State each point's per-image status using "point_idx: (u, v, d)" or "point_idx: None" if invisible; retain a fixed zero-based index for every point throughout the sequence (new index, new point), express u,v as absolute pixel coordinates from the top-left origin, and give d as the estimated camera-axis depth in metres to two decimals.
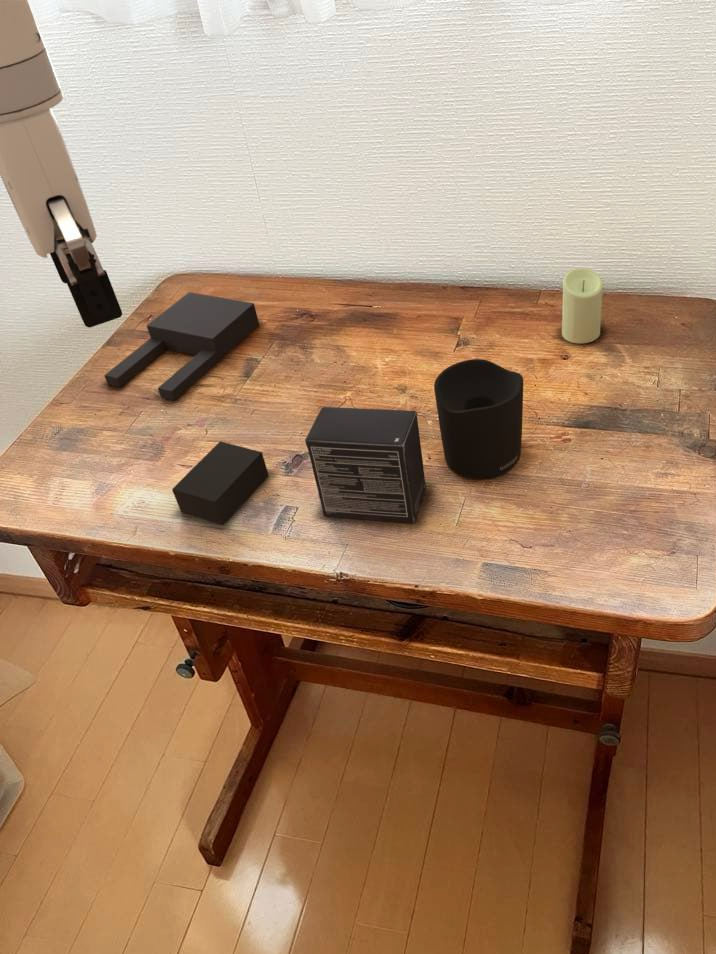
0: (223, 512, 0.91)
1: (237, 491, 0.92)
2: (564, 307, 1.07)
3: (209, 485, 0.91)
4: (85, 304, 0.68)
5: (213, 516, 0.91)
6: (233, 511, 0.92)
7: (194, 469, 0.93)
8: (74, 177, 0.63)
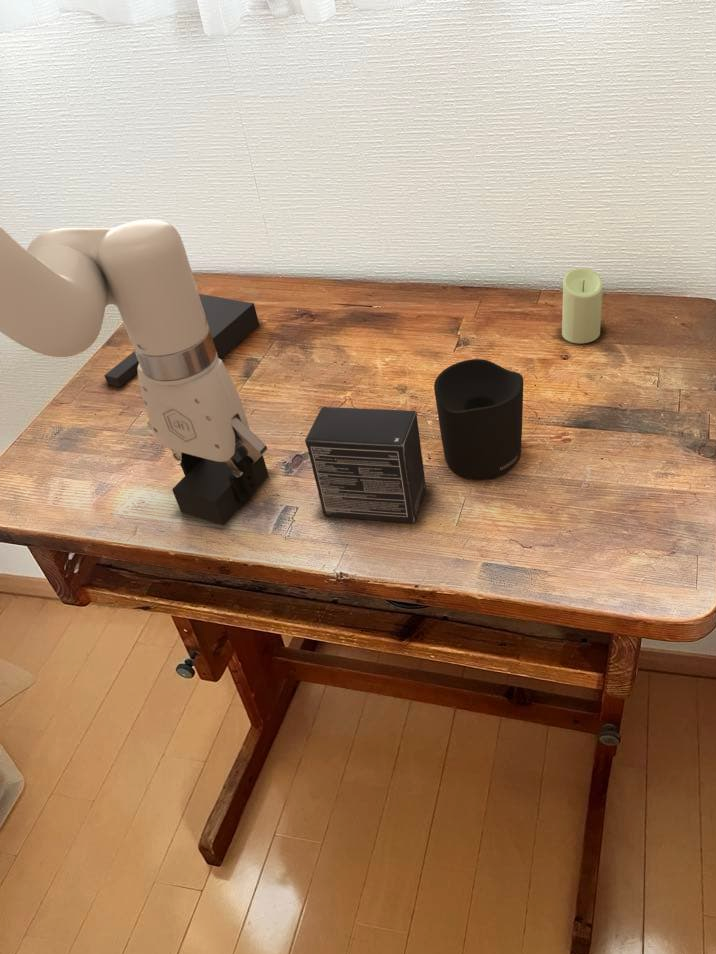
0: (223, 512, 0.91)
1: None
2: (564, 307, 1.07)
3: (209, 485, 0.91)
4: (241, 488, 0.91)
5: (213, 516, 0.91)
6: (233, 511, 0.92)
7: (194, 469, 0.93)
8: (239, 398, 0.85)
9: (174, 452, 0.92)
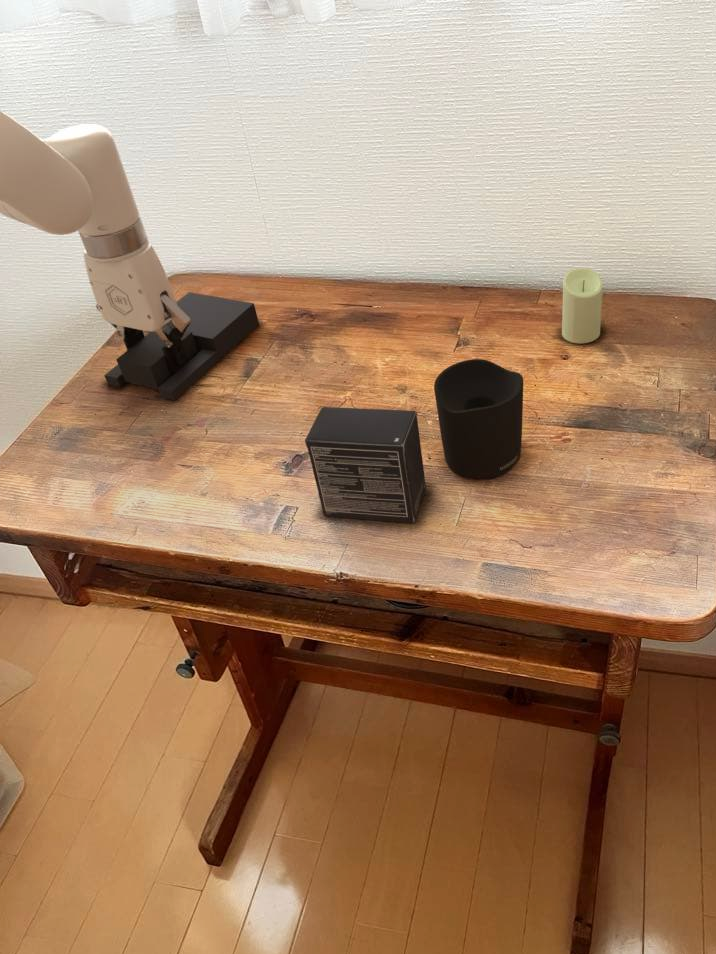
0: (158, 377, 1.10)
1: None
2: (564, 307, 1.07)
3: (146, 355, 1.11)
4: (172, 358, 1.11)
5: (150, 381, 1.11)
6: (167, 378, 1.12)
7: (135, 345, 1.13)
8: (167, 278, 1.05)
9: (118, 330, 1.12)
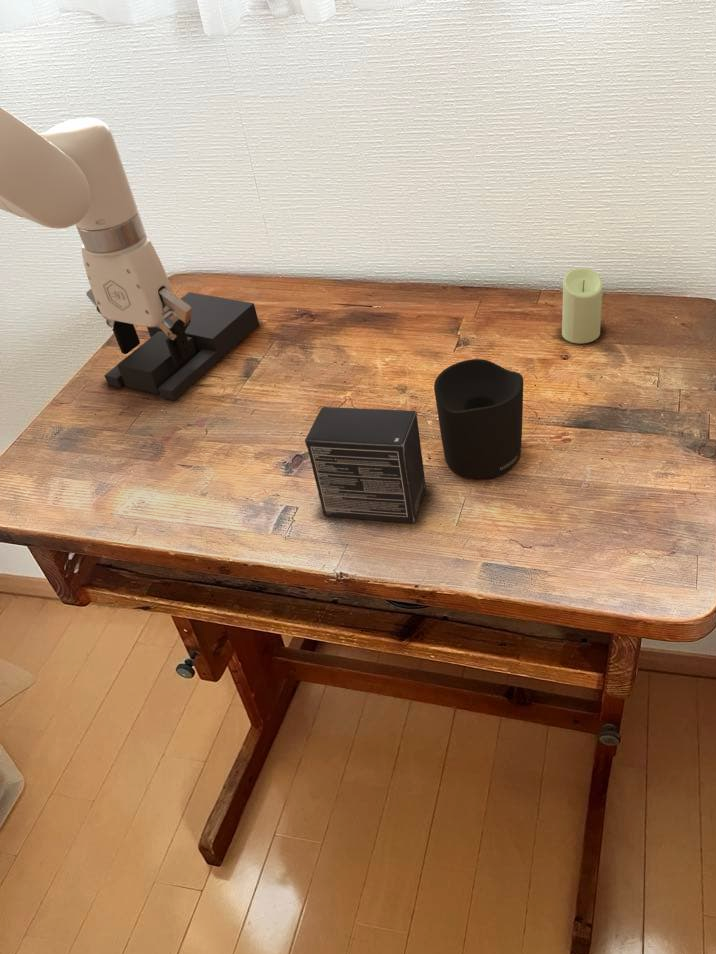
0: (158, 382, 1.11)
1: (171, 367, 1.12)
2: (564, 307, 1.07)
3: (147, 361, 1.11)
4: (176, 351, 1.09)
5: (150, 386, 1.11)
6: None
7: (136, 350, 1.13)
8: (165, 273, 1.05)
9: (108, 319, 1.11)
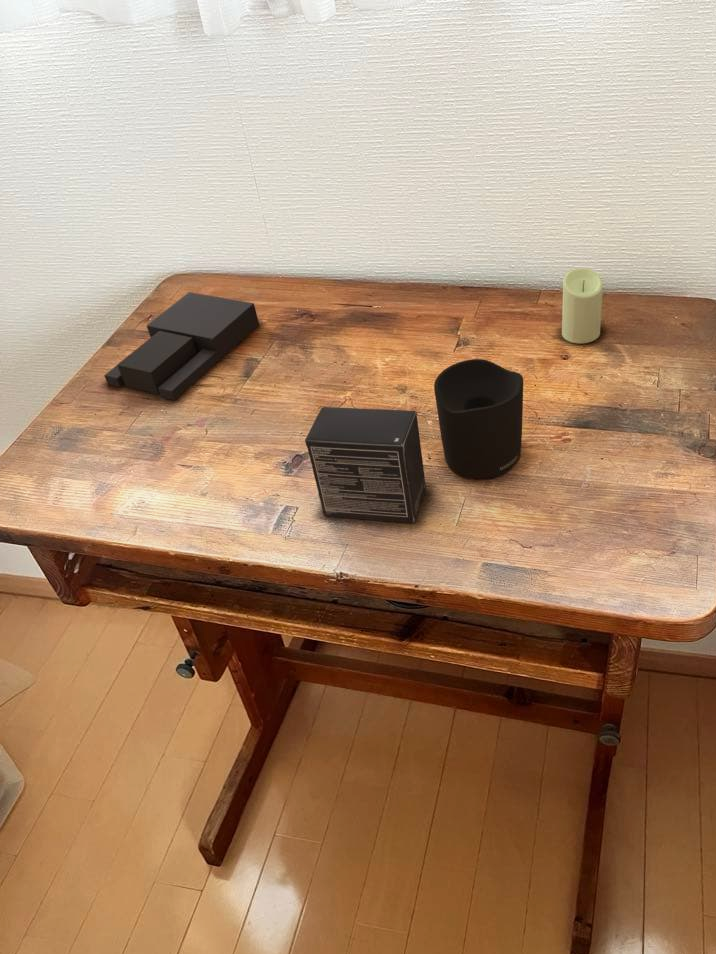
0: (158, 382, 1.11)
1: (171, 367, 1.12)
2: (564, 307, 1.07)
3: (147, 361, 1.11)
4: None
5: (150, 386, 1.11)
6: None
7: (136, 350, 1.13)
8: None
9: None
